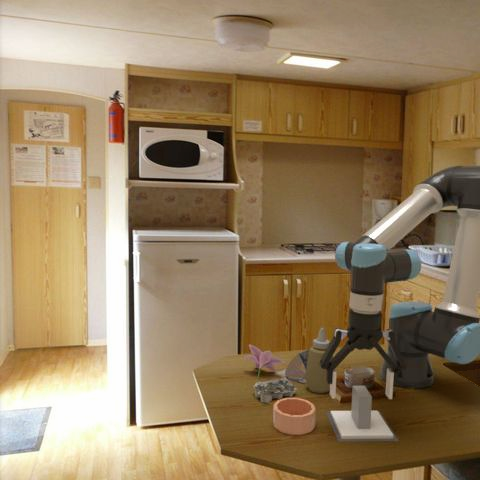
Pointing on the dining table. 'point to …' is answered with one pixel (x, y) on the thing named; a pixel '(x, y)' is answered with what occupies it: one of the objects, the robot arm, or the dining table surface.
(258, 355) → the lily
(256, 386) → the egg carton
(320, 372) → the squeeze bottle
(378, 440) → the rubber mat
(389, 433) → the cover sheet
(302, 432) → the bowl
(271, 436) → the dining table surface
